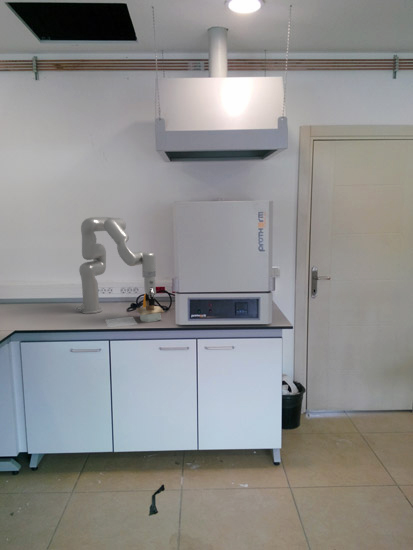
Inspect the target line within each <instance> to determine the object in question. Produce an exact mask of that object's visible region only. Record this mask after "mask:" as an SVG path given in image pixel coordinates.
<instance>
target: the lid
mask: <svg viewBox="0 0 413 550" xmlns="http://www.w3.org/2000/svg"><path fill="white" fill-rule="evenodd" d="M136 311H137V312H138V313H139V316H140V315H147V314H157V313H161V314H165V311H164V310H163V308H162V307H161V306H159V305H151V306H149V301H146V307H143V306H141V307H136Z"/></svg>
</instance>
